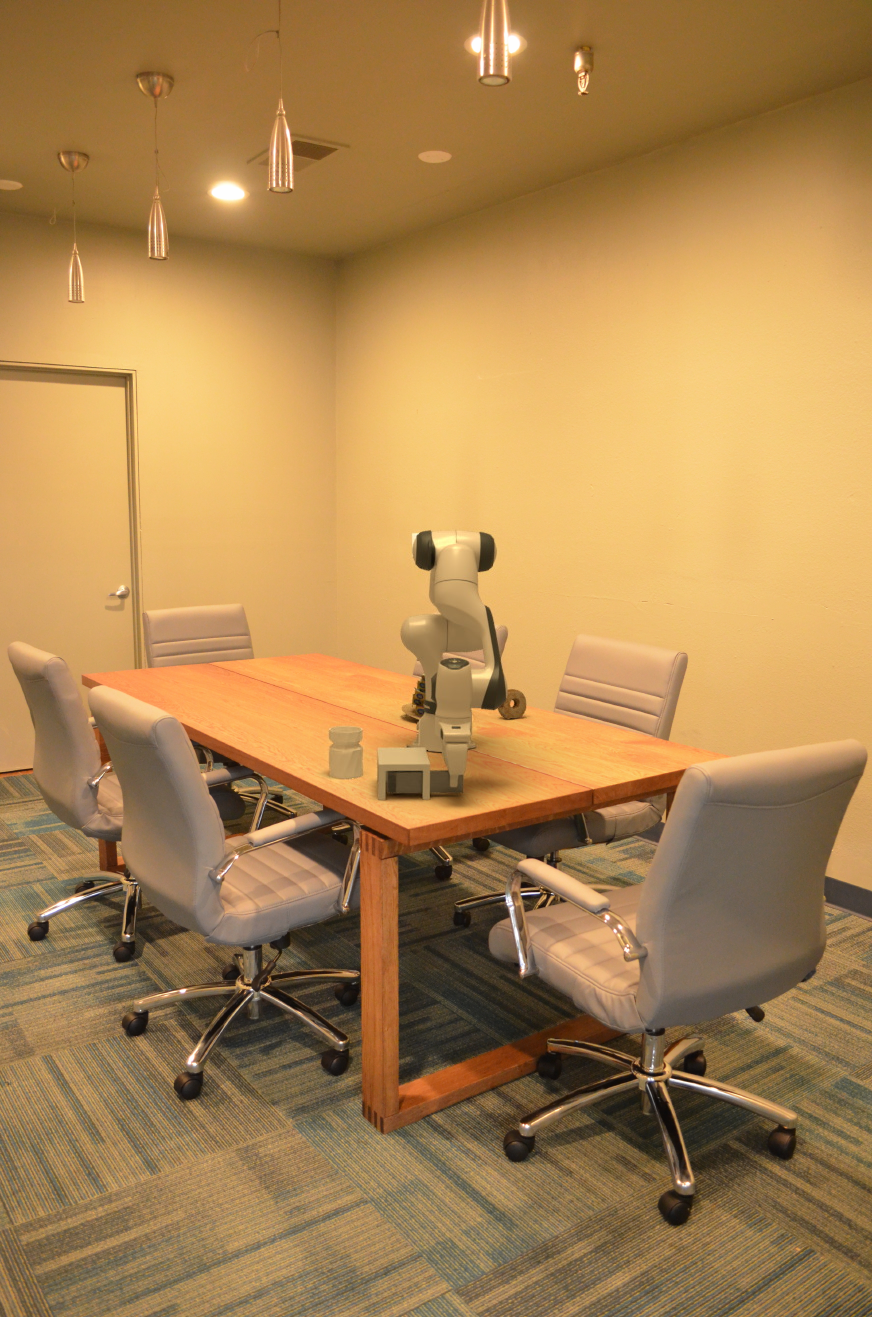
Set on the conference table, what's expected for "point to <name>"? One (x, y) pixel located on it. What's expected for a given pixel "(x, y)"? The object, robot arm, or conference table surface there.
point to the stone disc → (518, 705)
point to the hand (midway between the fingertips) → (452, 784)
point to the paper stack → (417, 701)
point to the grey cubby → (402, 766)
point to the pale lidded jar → (345, 752)
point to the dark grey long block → (421, 782)
